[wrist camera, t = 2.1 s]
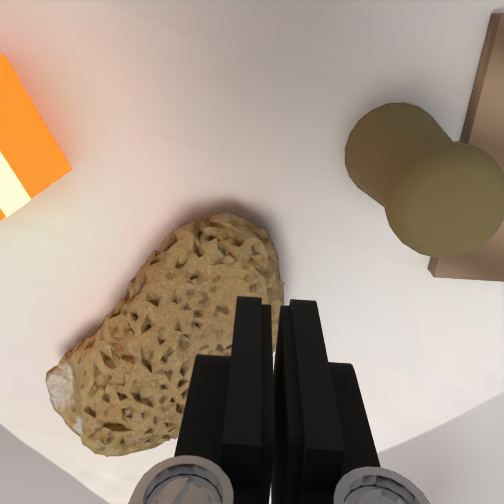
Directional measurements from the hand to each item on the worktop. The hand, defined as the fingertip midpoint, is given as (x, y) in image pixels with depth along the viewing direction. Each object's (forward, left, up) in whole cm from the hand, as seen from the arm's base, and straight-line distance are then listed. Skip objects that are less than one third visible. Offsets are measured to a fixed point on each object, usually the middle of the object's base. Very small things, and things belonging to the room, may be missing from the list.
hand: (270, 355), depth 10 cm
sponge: (+13, -6, -21) cm, 26 cm away
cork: (0, +8, -21) cm, 23 cm away
